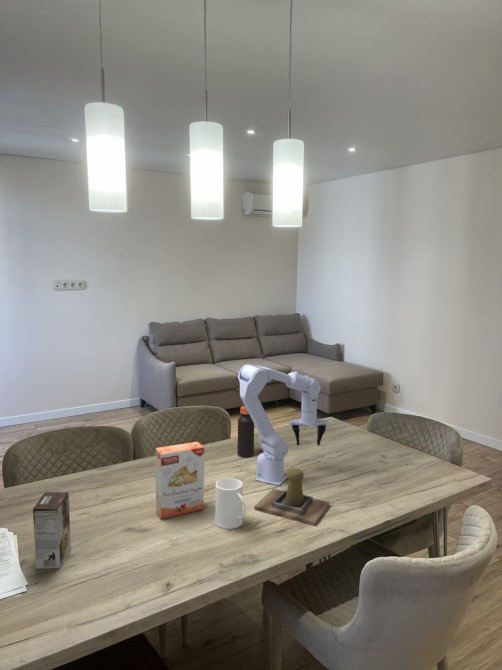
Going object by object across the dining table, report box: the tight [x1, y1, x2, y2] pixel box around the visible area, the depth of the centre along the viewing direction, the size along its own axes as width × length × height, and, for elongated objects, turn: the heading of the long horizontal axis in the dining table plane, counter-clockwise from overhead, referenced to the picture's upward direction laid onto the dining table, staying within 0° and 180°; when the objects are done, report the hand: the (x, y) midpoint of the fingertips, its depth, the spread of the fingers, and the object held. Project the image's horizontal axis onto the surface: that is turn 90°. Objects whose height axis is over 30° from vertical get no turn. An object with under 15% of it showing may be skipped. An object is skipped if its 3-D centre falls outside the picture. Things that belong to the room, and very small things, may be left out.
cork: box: [285, 467, 304, 507], centre depth 151 cm, size 6×6×11 cm
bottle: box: [237, 405, 255, 458], centre depth 194 cm, size 7×7×20 cm
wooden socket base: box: [254, 488, 330, 527], centre depth 151 cm, size 20×14×3 cm
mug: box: [214, 477, 247, 530], centre depth 140 cm, size 12×8×12 cm
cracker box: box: [155, 441, 205, 520], centre depth 147 cm, size 14×6×21 cm, turn 118°
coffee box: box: [32, 491, 72, 570], centre depth 122 cm, size 9×6×16 cm
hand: (308, 444), depth 178 cm, fingers open, 7 cm apart
